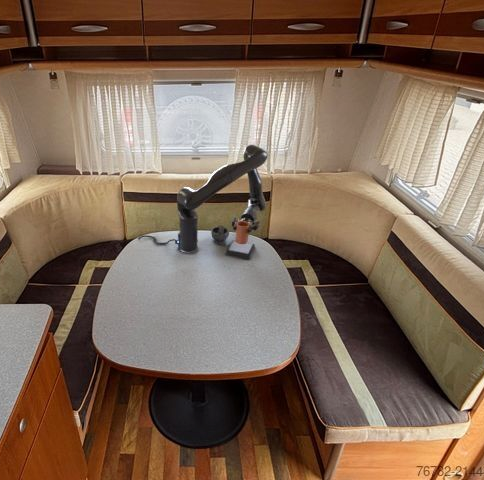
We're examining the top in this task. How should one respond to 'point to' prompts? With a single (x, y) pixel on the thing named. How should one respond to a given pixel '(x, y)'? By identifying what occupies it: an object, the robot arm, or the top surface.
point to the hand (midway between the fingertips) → (241, 230)
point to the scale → (240, 250)
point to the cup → (242, 232)
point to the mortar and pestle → (220, 234)
